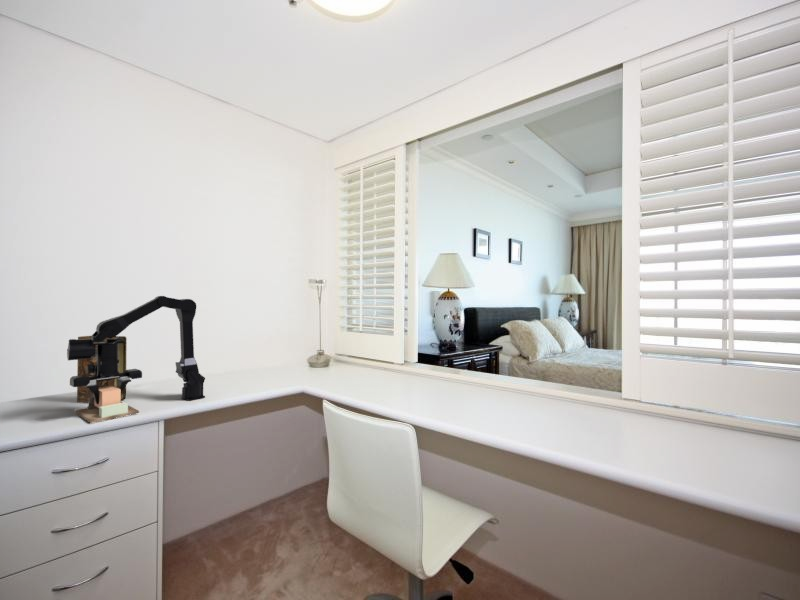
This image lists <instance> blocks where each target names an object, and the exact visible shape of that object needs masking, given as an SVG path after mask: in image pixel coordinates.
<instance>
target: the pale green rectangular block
mask: <svg viewBox="0 0 800 600" xmlns="http://www.w3.org/2000/svg"><path fill="white" fill-rule="evenodd" d="M122 402H123V403H118V404H112V405H107V406H101V407H99V416H100V417H101V418H103V417H108V416H113V415H118V414H123V413H128V405H129V403H128V402H125V401H122Z"/></svg>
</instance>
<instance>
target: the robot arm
mask: <svg viewBox="0 0 800 600" xmlns="http://www.w3.org/2000/svg"><path fill="white" fill-rule="evenodd" d="M163 307H164V308H168V309H173V310H175V313H176V316H177V319H178V321H179V332H180V333H179V334H180V335H179V336H180V340H179V341H180V358H179V362H178V361H177V362H175V368H176V370H175V373H176V374H177V376H178V377H179V378H180V379H182V381H183V382H184V383H183V387H182V388H181V399H183V400H185V401H193V400H194V401H195V400H198V399H203V398H206V396H205V395H204V383H205V380H206V377H204V376H203V374H201V373H200V372H199V367H198V366H199V365H198V363H197V360H196V358H195V351H194V348H195V347H194V346H195V345H194V327H193V325H194V323H193V322H194V319H195V317H196V313H197V303H196V302H195V301H194V299H191V298H181V299H178V298H173V297H168V296H165V295H158V296H155V297H154V298H153V299H151V300H149V301H147V302H145V303H142V304H141V305H140V306H138V307H135V308H134V309H132V310H130V311H127V312H125V313H124V314H122V315H118V316H115V317H111V318H109V319H106V320H103V321H100V322H99V323H97V324H96V328H95V331H94V333H93V334H91V335H90V336H91V337H90V338H89V339H79V340H78V338H76V339H75V338H72V339H71V338H70V339H69V340H68V346H67V349H66V355H67V356H66V358H67V361H75V360H77V361H78V360H80V359H90V358H91V356H93V355H95V351H96V349H95V345H97V361H96V365H94V364H87V365H86V374H91V373H93V376H92V377H89V376H87V375H80V376H77V375H73V376H71V377H70V378H69V386H71V387H72V388H77V387H80V386H84V387H86V388H89V390H90V391H91V393H92V395H93V397H94V399H95V402H96V404H99V389H98V385H97V384H96V381H103V380H111V379H116V381H117V388H119V389H121V394H122V392H123V390H124V388H125V387H126V388H127V385H128V384H129V383H131V382H132V380H135V379H141V378H143V372H142V370H141V369H137V368H132V369H126V370H125V371H124V373H119V372H118V363H119V360H118V344H119V343H126V344H127V340H126V341H124V340H123V339H122V338H121V337H119V335H120V334H121V333H123V331H125V330H126V329H127V328H128V327H129V326H131V324H133V323H135V322H137V321H139V320H141V319H143V318H144V317H147V316H148V315H150V314H152V313H154V312H155V311H157V310H159V309H161V308H163ZM115 336H118V337H117V338H116V339H106V338H113V337H115ZM104 339H106V340H105V342H100V341H102V340H104ZM93 342H99V343H93ZM118 378H119V379H118Z"/></svg>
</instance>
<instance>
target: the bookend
mask: <svg viewBox="0 0 800 600" xmlns="http://www.w3.org/2000/svg"><path fill="white" fill-rule="evenodd" d="M86 408H88V409H95V408H98V407H96V406H94V397H89V403H88V406H87V407H86Z"/></svg>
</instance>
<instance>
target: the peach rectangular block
mask: <svg viewBox="0 0 800 600" xmlns="http://www.w3.org/2000/svg"><path fill="white" fill-rule="evenodd" d="M98 389H99V404H96V402H95V399H94V406H96V407H98V408H99V407H101V406H107V405H112V404H118V403H121V402H122V400H121V389H119V388H117V387H115V386H106V387H99V388H98Z"/></svg>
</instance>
